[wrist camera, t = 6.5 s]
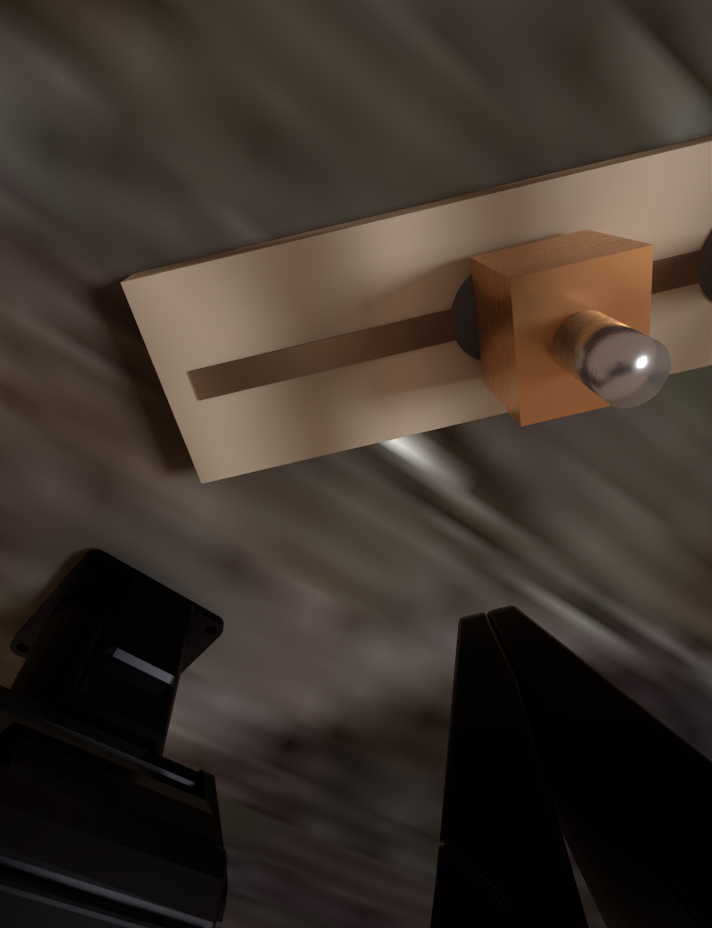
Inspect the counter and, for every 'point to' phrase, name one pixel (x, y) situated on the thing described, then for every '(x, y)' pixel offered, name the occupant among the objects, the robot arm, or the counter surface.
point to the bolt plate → (399, 310)
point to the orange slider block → (568, 325)
